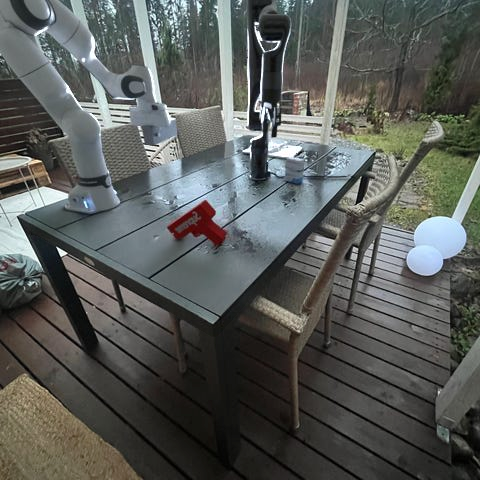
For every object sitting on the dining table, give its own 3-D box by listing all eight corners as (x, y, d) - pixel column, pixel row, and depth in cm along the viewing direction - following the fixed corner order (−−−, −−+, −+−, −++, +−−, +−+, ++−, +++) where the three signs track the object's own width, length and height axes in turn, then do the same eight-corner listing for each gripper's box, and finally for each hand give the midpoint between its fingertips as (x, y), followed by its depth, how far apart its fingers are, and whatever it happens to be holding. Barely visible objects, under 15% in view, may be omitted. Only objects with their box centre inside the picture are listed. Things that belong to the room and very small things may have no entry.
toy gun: (233, 234, 92) (206, 198, 88) (229, 240, 88) (200, 203, 84) (198, 253, 102) (172, 221, 98) (193, 259, 98) (166, 227, 94)
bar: (169, 134, 156) (167, 118, 151) (177, 134, 155) (175, 118, 150) (144, 144, 136) (141, 126, 131) (154, 145, 134) (151, 126, 130)
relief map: (291, 159, 177) (291, 151, 174) (243, 153, 190) (243, 145, 187) (302, 149, 197) (303, 142, 194) (258, 144, 211) (258, 137, 208)
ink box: (302, 181, 142) (305, 159, 136) (297, 184, 139) (300, 161, 133) (289, 177, 147) (291, 156, 141) (284, 180, 144) (285, 158, 138)
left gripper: (124, 105, 129) (130, 136, 136) (162, 106, 124) (167, 138, 131) (132, 104, 134) (138, 133, 141) (169, 105, 129) (173, 135, 136)
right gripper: (254, 86, 101) (253, 132, 109) (269, 88, 89) (267, 139, 98) (272, 85, 103) (270, 130, 111) (290, 87, 91) (286, 138, 100)
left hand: (152, 136), depth 136 cm, fingers closed on bar, 5 cm apart
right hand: (269, 135), depth 105 cm, fingers open, 8 cm apart
